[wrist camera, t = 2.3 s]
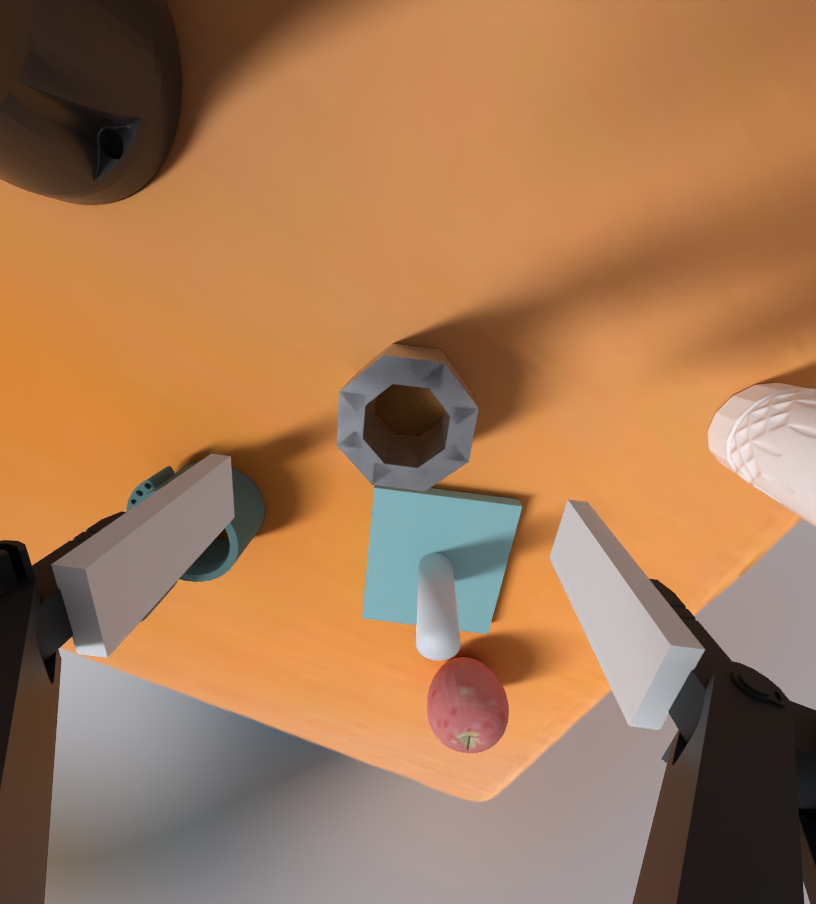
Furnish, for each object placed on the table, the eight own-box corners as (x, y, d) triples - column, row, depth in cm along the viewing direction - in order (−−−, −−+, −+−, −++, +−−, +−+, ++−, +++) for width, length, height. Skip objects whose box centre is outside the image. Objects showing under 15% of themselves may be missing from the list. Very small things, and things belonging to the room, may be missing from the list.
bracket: (249, 451, 31) (183, 506, 23) (276, 544, 34) (227, 622, 26) (148, 460, 32) (49, 517, 24) (184, 550, 35) (109, 627, 27)
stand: (376, 481, 31) (357, 548, 23) (519, 499, 31) (553, 573, 23) (364, 608, 37) (344, 702, 28) (486, 623, 37) (503, 722, 28)
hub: (358, 338, 27) (341, 349, 22) (474, 353, 27) (486, 367, 22) (352, 446, 30) (335, 479, 25) (455, 459, 30) (461, 496, 25)
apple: (414, 676, 40) (412, 762, 33) (447, 630, 37) (452, 712, 30) (476, 699, 41) (487, 788, 33) (512, 656, 38) (532, 742, 31)
